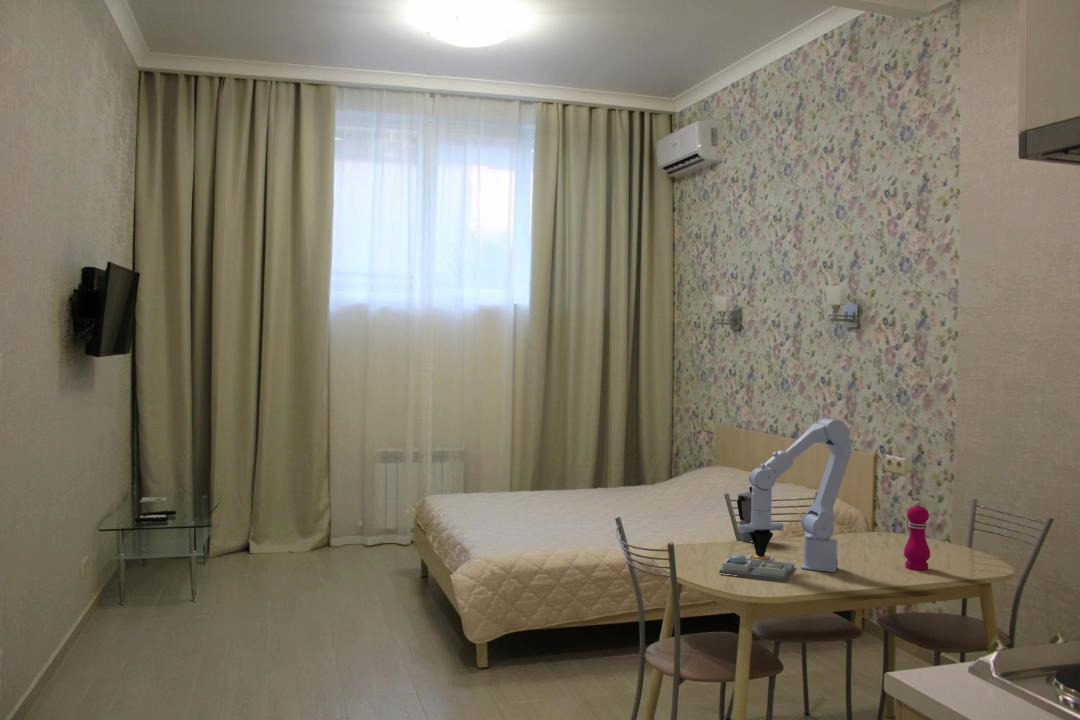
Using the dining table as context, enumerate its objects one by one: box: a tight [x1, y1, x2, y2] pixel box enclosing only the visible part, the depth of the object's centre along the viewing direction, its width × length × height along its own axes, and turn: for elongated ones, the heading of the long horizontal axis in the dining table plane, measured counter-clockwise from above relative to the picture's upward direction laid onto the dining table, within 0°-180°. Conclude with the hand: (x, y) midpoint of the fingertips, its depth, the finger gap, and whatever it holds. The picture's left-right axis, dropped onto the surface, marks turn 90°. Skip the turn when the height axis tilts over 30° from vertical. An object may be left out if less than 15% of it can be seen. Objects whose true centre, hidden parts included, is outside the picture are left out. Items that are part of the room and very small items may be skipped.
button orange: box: [752, 553, 769, 560], centre depth 255 cm, size 5×5×2 cm
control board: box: [718, 553, 795, 583], centre depth 251 cm, size 18×19×3 cm
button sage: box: [765, 562, 782, 569], centre depth 245 cm, size 5×5×2 cm
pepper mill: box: [903, 500, 931, 572], centre depth 258 cm, size 7×7×20 cm
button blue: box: [728, 554, 747, 564], centre depth 249 cm, size 5×5×2 cm
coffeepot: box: [736, 486, 752, 543], centre depth 294 cm, size 15×9×18 cm, turn 138°
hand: (760, 555), depth 255 cm, fingers closed, pressing on button orange
